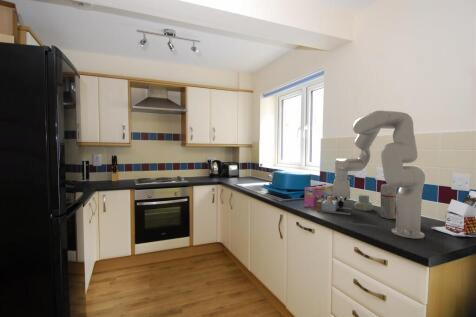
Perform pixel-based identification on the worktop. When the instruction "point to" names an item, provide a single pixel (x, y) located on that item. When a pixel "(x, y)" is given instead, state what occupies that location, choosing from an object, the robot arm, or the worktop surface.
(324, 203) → the block
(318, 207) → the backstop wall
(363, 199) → the air freshener
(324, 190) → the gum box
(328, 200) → the dowel
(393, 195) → the spray can
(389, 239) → the worktop surface
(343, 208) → the track board
